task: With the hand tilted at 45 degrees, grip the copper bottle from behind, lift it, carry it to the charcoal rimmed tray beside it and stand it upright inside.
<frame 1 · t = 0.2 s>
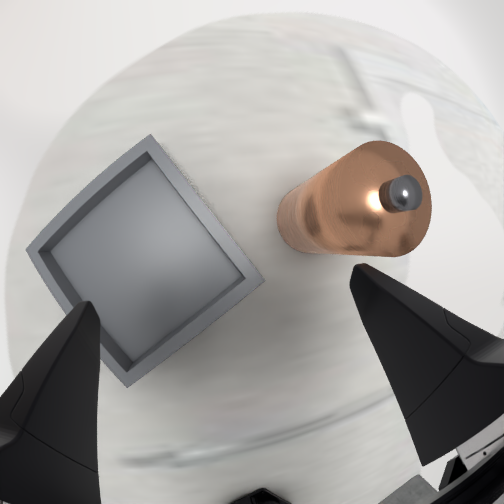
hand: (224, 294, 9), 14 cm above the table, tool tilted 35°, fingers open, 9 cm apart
copper bottle: (309, 219, 24), on the table
fill tray: (139, 262, 22), on the table
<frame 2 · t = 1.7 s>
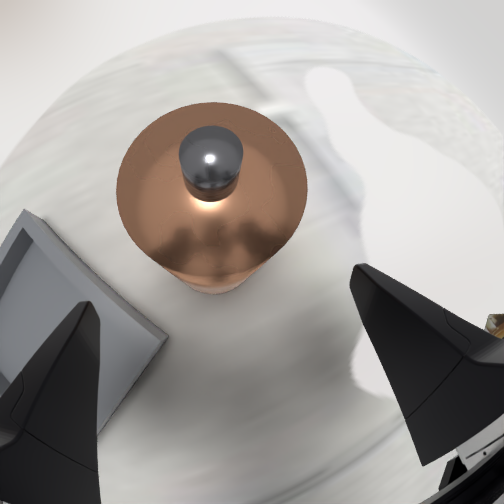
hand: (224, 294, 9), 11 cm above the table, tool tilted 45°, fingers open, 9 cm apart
copper bottle: (213, 252, 20), on the table
coffee box: (486, 360, 21), on the table
fill tray: (50, 344, 17), on the table
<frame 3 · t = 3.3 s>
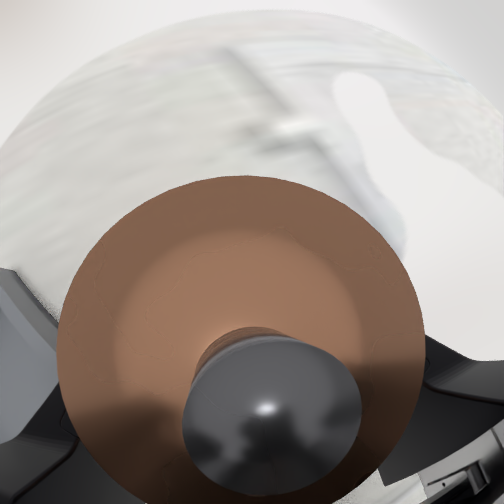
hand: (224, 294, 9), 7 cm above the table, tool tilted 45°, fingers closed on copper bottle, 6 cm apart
copper bottle: (224, 323, 15), on the table, touching gripper
fill tray: (39, 416, 12), on the table
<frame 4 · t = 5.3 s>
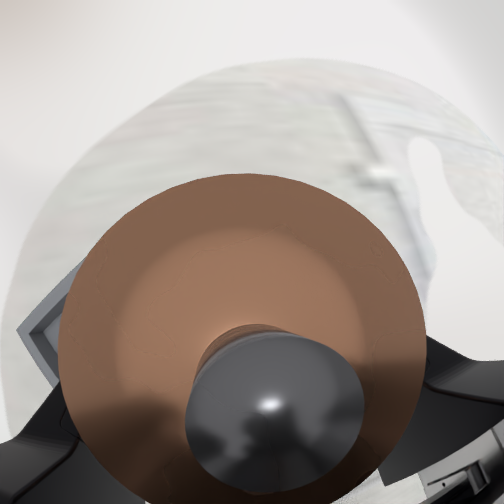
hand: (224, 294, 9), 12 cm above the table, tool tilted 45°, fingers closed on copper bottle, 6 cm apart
copper bottle: (225, 322, 15), point 6 cm above the table, touching gripper
fill tray: (137, 349, 20), on the table
when the fingers open (9 cm above the table, at t = 7.1 s): copper bottle drops 1 cm, resting on fill tray.
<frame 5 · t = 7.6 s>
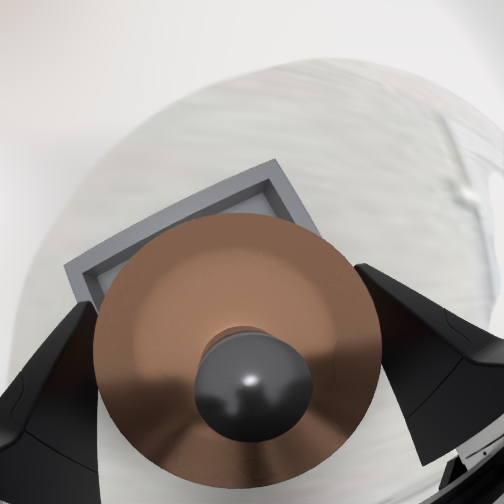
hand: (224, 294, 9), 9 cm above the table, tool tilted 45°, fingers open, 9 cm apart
copper bottle: (223, 322, 17), point 1 cm above the table, touching fill tray
fill tray: (223, 320, 17), on the table
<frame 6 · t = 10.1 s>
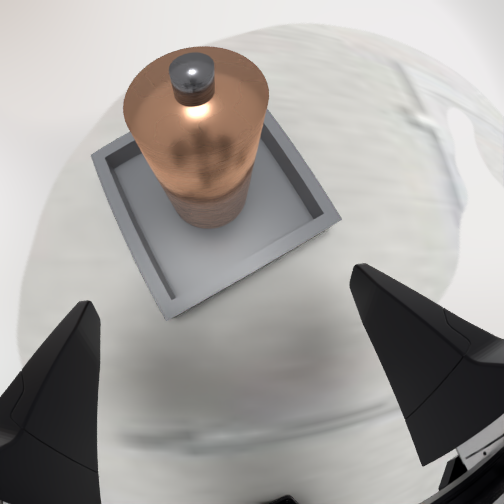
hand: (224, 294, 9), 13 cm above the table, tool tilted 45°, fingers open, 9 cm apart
copper bottle: (209, 191, 22), point 1 cm above the table, touching fill tray
fill tray: (209, 194, 22), on the table
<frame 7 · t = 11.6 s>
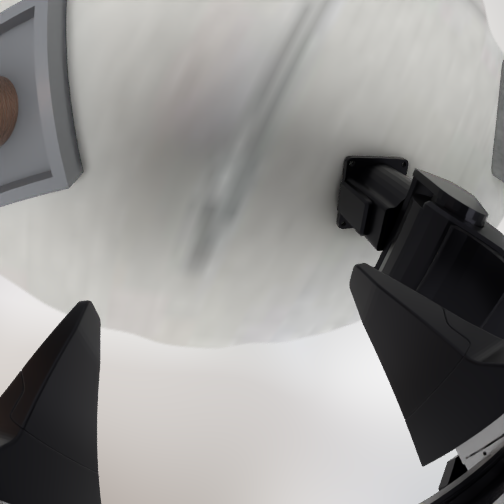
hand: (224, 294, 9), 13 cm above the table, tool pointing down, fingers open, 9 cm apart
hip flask: (502, 117, 21), on the table
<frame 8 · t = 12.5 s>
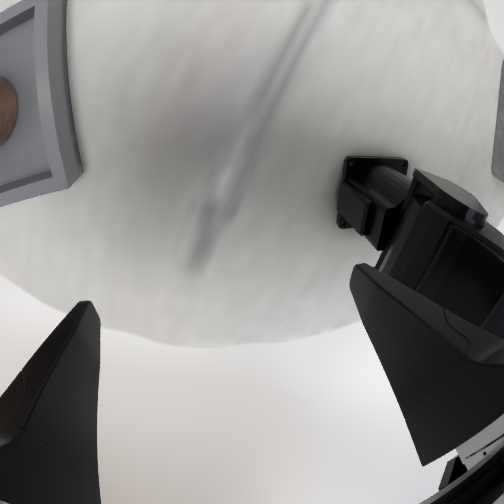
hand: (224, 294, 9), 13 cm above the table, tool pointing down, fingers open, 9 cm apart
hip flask: (502, 117, 21), on the table
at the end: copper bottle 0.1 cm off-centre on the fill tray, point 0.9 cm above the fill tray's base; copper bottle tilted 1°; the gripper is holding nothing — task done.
